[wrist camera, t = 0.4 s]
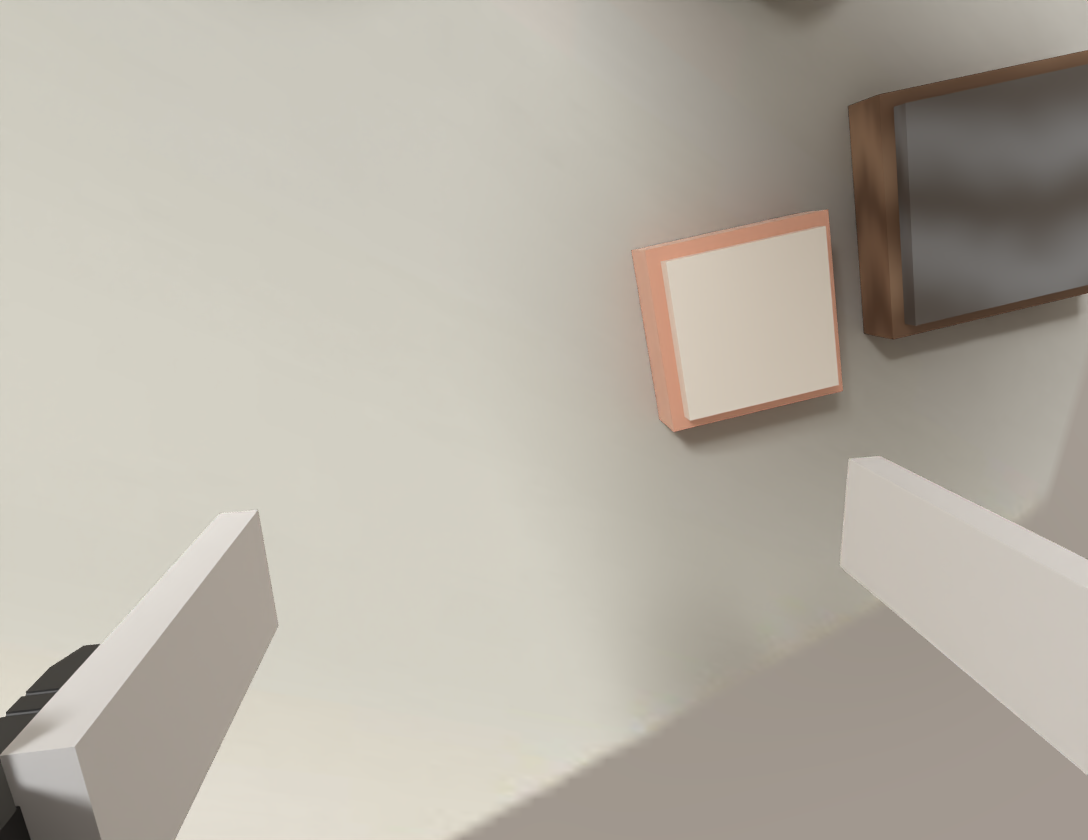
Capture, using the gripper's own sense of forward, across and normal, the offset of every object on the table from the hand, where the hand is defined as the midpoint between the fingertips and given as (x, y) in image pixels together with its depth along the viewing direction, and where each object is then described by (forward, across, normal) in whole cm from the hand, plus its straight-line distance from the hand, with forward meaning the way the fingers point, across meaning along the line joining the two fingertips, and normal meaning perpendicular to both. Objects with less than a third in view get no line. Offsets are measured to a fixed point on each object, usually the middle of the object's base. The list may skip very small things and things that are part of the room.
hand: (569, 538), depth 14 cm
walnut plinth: (+27, +30, +8) cm, 41 cm away
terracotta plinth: (+27, +15, +1) cm, 30 cm away
